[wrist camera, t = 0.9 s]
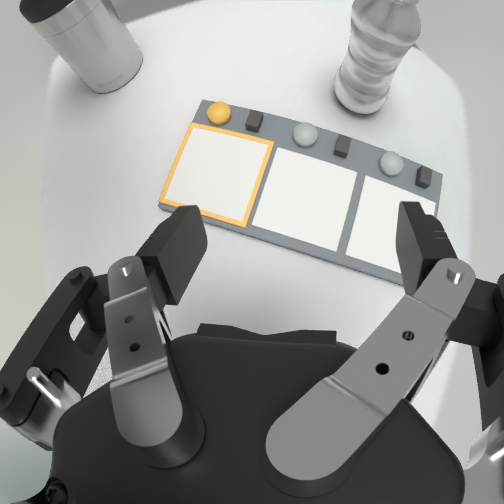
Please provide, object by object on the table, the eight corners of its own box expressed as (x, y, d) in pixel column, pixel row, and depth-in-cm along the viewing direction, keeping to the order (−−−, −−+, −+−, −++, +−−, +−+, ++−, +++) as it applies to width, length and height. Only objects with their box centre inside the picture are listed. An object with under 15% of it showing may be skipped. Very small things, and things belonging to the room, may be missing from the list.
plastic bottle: (361, 129, 34) (421, 10, 14) (320, 94, 35) (344, -36, 15) (391, 103, 34) (452, -7, 14) (351, 70, 35) (386, -48, 15)
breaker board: (161, 208, 34) (153, 203, 32) (204, 104, 35) (199, 93, 33) (416, 290, 31) (426, 290, 29) (438, 177, 32) (447, 170, 30)
